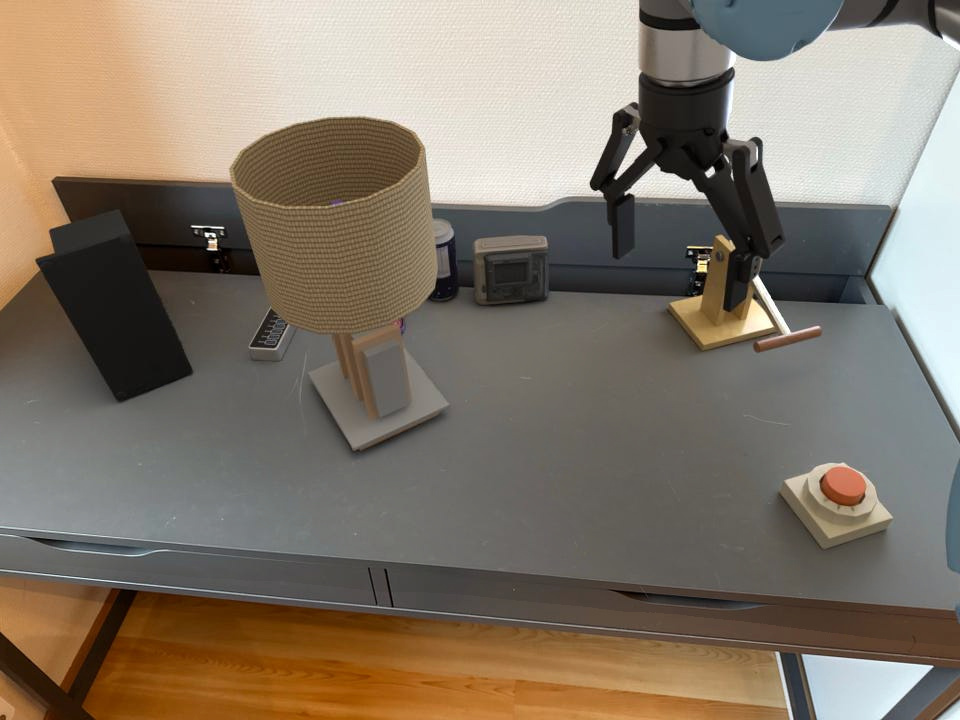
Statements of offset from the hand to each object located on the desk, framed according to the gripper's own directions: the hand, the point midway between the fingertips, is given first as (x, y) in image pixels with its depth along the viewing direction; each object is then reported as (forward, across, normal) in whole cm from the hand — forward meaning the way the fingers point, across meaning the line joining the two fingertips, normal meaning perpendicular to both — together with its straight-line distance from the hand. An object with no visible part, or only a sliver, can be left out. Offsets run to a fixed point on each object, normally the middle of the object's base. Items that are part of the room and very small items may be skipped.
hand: (676, 277), depth 71 cm
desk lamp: (+21, +30, +23) cm, 43 cm away
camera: (+23, +34, -5) cm, 41 cm away
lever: (+18, +2, -21) cm, 28 cm away
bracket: (+26, +8, -23) cm, 36 cm away
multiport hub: (+20, +53, +25) cm, 61 cm away
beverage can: (+22, +42, +2) cm, 48 cm away
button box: (+26, -19, -4) cm, 33 cm away
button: (+23, -20, -4) cm, 30 cm away
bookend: (+17, +65, +42) cm, 79 cm away
